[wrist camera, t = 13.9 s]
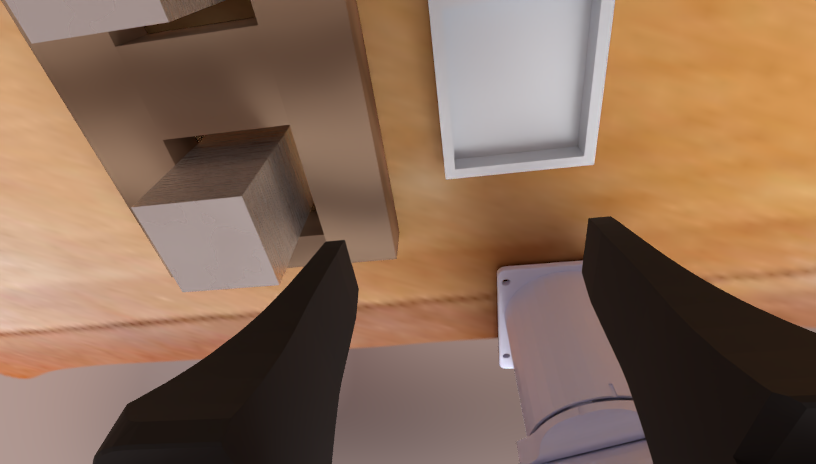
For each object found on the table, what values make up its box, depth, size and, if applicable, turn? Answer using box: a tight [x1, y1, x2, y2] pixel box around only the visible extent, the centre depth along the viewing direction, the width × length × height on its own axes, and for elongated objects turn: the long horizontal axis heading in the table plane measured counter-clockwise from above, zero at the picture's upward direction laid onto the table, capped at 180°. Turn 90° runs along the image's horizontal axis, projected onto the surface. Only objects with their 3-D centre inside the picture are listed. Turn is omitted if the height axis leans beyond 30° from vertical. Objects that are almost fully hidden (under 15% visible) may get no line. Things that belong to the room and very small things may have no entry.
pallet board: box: [1, 0, 399, 277], centre depth 19 cm, size 20×13×2 cm, turn 8°
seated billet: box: [131, 125, 314, 292], centre depth 20 cm, size 4×4×7 cm
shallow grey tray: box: [428, 0, 615, 180], centre depth 19 cm, size 8×7×2 cm
